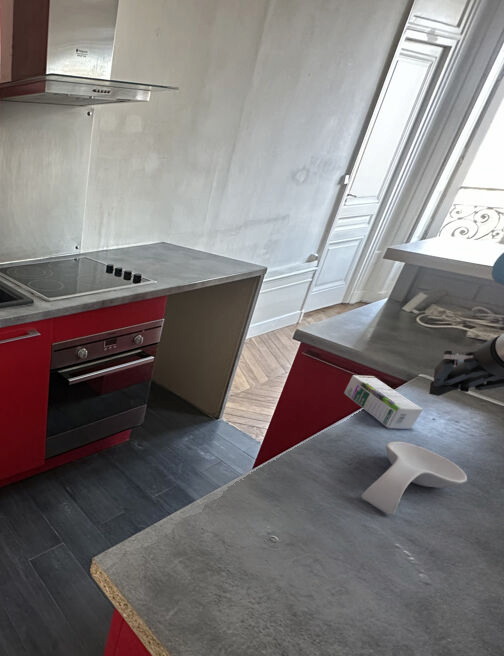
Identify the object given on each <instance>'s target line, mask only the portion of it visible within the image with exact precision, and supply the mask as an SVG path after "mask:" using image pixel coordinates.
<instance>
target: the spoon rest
mask: <svg viewBox="0 0 504 656" xmlns="http://www.w3.org/2000/svg"><path fill="white" fill-rule="evenodd" d="M385 453H386V456H387V458H388V460H389V462H390V464H391V466H389V468H388V469H387V470H386V471H385V472H384V473H383V474H382V475H381V476H380V477H379V478H377V479H376V480H375V481H374V482H373V483H372V484H370V485H369V486H368V487H367V489H366V490H364V491H363V493H362V494H361V495H360V496H361V497H360V498H361V499H362V500H364V501H365V502H368V503H369V504H371V506H374V507H375V508H377V509H379V510H381V511H382V512H384V513H385V514H387V515H390V516H394V514H395V512H396V510H397V508H398V506H399V503H400V501H401V499H402V496H403V494H404V492H405V490H406V489H407V488H408V486H409V485H410V484H411V483H413V484H414V485H418V486H422V487H427V488H437V489H447V488H455V487H459V486H461V485H463V484H465V483H466V482H467V481H468V477H467V474H466V472H465V471H464V470H463V469H462V468H461V467H460V466H458V465H457V464H456V463H454V462H453V461H451V460H450V459H448V458H446V457H445V456H443V455H440V454H438V453H435V452H434V451H431V450H429V449H427V448H426V447H422V446H419V445H416V444H413V443H410V442H406V441H405V442H404V441H398V440H397V441H396V440H395V441H389V442H387V443H386V444H385Z"/></svg>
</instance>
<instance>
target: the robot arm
mask: <svg viewBox="0 0 504 656" xmlns="http://www.w3.org/2000/svg"><path fill="white" fill-rule="evenodd" d="M491 268H492V270H491V278H492V279H493V281H494V282H496V283H497V284H499V285H502V286H504V252H502V253H501V254H500V255H499V256H498V257H497V258H496V260H495V261H494V263H493V264H492V267H491ZM471 388H474V390H476V391H487V390H492V389H498V388H504V333H501V334H499V335H497V336H496V337H493V338H492V339H489V340H488V341H486V342H484V343H483V344H481V346H479V348H477V349H476V350H473V351H467V352H466V353H464V354H459V353H455V352H454V351H453V350H444V352H443V358H442V360H441V361H440V362H439V363H438V364H437V365H436V367H435V368H434V373H433V380H432V381H430V384H429V392H428V394H429V395H432V396H437V397H439V396H442V395H444V394H447V393H450V392H452V391H459V392H463V393H469V391H470V389H471Z"/></svg>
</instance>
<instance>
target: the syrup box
mask: <svg viewBox="0 0 504 656" xmlns="http://www.w3.org/2000/svg"><path fill="white" fill-rule="evenodd" d="M343 394H344V395H345V396H346V397H347V398H349V399H350V400H351V401H353V402H354V403H355V404H357V405H358V406H359V407H360V408H362V409H363V410H364V411H366V412H367V413H368V414H369V415H370V416H372V417H374V418H375V419H376V420H377V421H379V423H381V424H382V425H383V426H385V427H386V428H387V429H396V430H397V429H400V430H401V429H402V430H403V429H404V430H408V429H409V430H411V429H412V428H413V426H414V425H415V423H416V421H417V420H418V418H419V417H420V415H421V413H422V412H423V408H422V407H420V406H418V405H417V404H416V403H414V402H412V401H411V400H410V399H408V398H406V397H405V396H404V395H402V394H401V393H399V392H397V391H396V390H394V388H391V387H390V386H388V385H387V384H386V383H385V382H383V381H381V380H380V379H379V378H377V377H376V376H374V375H363V374H361V375H357V374H356V375H351V378H350V380H349V382H348V384H347V386H346V388H345V390H344V392H343Z"/></svg>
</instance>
